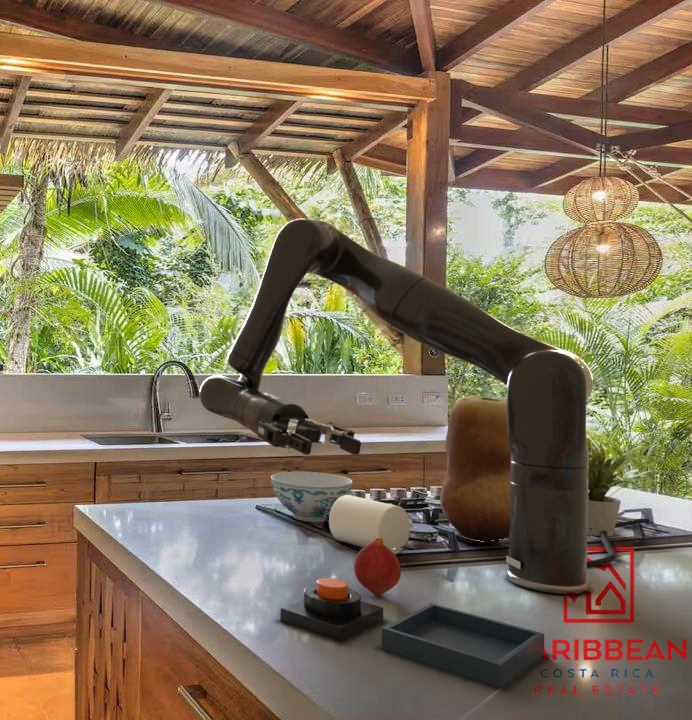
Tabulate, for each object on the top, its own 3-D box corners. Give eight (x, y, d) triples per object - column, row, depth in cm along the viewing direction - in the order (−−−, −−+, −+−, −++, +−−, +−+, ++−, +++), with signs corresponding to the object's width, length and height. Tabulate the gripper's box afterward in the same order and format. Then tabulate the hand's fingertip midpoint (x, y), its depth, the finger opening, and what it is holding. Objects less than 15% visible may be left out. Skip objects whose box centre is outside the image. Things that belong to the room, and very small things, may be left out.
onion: (353, 599, 98) (354, 540, 97) (354, 586, 103) (354, 530, 103) (401, 605, 96) (402, 544, 95) (399, 591, 101) (399, 534, 101)
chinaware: (275, 525, 137) (275, 484, 136) (266, 507, 151) (267, 470, 151) (360, 529, 134) (360, 487, 134) (342, 510, 149) (343, 472, 149)
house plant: (672, 547, 122) (674, 450, 122) (580, 543, 124) (582, 447, 124) (623, 526, 136) (624, 438, 136) (541, 522, 138) (542, 437, 138)
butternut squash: (539, 555, 117) (542, 400, 117) (447, 549, 121) (449, 398, 121) (512, 534, 131) (515, 394, 130) (430, 528, 135) (432, 392, 134)
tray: (430, 622, 90) (431, 602, 90) (544, 655, 80) (544, 633, 80) (381, 648, 82) (381, 627, 82) (500, 688, 73) (500, 665, 73)
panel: (324, 603, 96) (324, 576, 96) (383, 621, 90) (383, 592, 90) (280, 621, 90) (280, 593, 90) (340, 642, 84) (340, 612, 84)
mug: (377, 559, 116) (378, 508, 116) (327, 543, 125) (328, 497, 124) (426, 548, 122) (427, 500, 121) (375, 534, 130) (375, 490, 130)
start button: (326, 589, 93) (326, 575, 93) (353, 597, 90) (353, 583, 90) (310, 595, 90) (311, 581, 90) (337, 604, 88) (338, 589, 88)
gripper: (240, 396, 121) (296, 423, 106) (314, 398, 125) (378, 424, 110) (234, 440, 122) (289, 472, 107) (307, 440, 127) (370, 472, 111)
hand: (334, 448), depth 109 cm, fingers open, 8 cm apart
